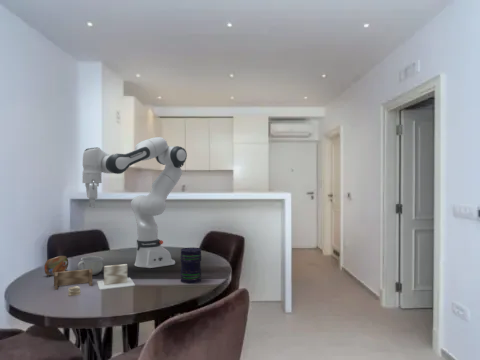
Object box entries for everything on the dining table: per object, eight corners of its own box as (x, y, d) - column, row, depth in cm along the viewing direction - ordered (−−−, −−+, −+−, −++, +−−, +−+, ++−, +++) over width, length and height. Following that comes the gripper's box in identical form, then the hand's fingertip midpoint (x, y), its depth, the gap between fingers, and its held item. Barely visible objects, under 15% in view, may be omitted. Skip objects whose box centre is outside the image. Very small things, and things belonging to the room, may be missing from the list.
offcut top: (77, 288, 154) (77, 285, 154) (80, 290, 152) (80, 287, 152) (68, 290, 152) (68, 287, 152) (71, 292, 150) (71, 289, 150)
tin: (48, 277, 178) (48, 260, 178) (43, 277, 179) (43, 260, 179) (68, 270, 193) (69, 254, 193) (63, 269, 194) (63, 254, 194)
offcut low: (79, 294, 155) (79, 291, 155) (80, 296, 151) (80, 293, 151) (68, 295, 153) (68, 292, 153) (68, 298, 149) (68, 295, 149)
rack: (92, 281, 171) (92, 268, 171) (93, 285, 165) (93, 272, 165) (54, 285, 164) (54, 272, 164) (53, 290, 158) (53, 276, 158)
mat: (130, 278, 177) (130, 277, 177) (135, 285, 164) (135, 284, 164) (97, 281, 171) (97, 281, 171) (99, 290, 158) (99, 289, 158)
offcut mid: (78, 291, 155) (78, 288, 155) (80, 293, 152) (80, 290, 152) (68, 293, 152) (68, 290, 152) (70, 295, 150) (70, 292, 150)
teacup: (95, 270, 193) (95, 255, 193) (107, 273, 187) (107, 257, 187) (70, 275, 182) (70, 259, 182) (82, 279, 176) (82, 262, 176)
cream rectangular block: (126, 281, 171) (126, 263, 171) (127, 282, 169) (127, 265, 169) (103, 283, 166) (103, 266, 166) (104, 284, 164) (104, 267, 164)
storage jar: (181, 278, 178) (181, 247, 178) (201, 277, 179) (201, 247, 179) (179, 283, 168) (179, 251, 168) (201, 283, 169) (201, 251, 169)
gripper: (100, 179, 174) (100, 208, 174) (97, 179, 193) (97, 205, 193) (86, 179, 171) (86, 209, 171) (84, 179, 190) (84, 206, 190)
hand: (92, 207), depth 182 cm, fingers open, 8 cm apart
